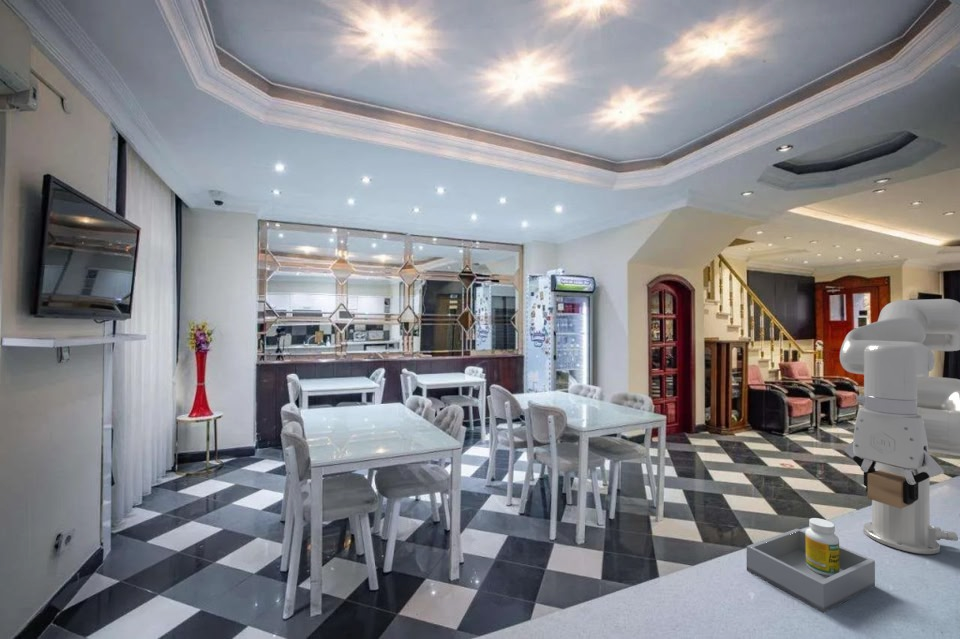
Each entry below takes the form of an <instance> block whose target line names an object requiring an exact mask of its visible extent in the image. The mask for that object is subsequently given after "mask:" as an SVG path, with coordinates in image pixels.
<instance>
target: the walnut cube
mask: <svg viewBox="0 0 960 639" xmlns="http://www.w3.org/2000/svg"><path fill="white" fill-rule="evenodd" d="M905 482H906V478H905V476H902V475H898V474H894V473H891V472H887V471H883V470H878V471H875V472H872V473H869V474H868V492H867V499H868V500H871V501H872V500H874V501H877V502H881V503H884V504H887V505H890V506H893V507H896V508H900V509H901V508H904V507H906V506H909V505H911V504H913V503H911V504H905V503H904V502H903V484H904V483H905Z"/></svg>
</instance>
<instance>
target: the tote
mask: <svg viewBox="0 0 960 639" xmlns="http://www.w3.org/2000/svg"><path fill="white" fill-rule="evenodd" d="M795 532H796V533H795ZM805 532H806V530H802V529H799V528H795V529H791V530H789V531H786V532H783V533H781V534H780V533H779V534H777V535H774V536H772V537H771V536H770V537H769V538H765V539H763V540H760V541H757V542H755V543H751V544H749V545H746V571H747V572H749V573H751V574H753V575H754V576H755V577H758V578H760V579H761V580H763V581H766V582H767V583H769V584H771V585H772V586H774V587H776V588H778V589H780V590H781V591H783V592H785V593H787V594H788V595H790V596H793V597H794V598H796V599H798V600H799V601H801V602H803V603H805V604H806V605H809V606H810V607H812V608H814V609H815V610H818V611H819V612H821V613H823V614H824V613H826V612H827V611H829V610H832V609H834V608H836V607H837V606H839V605H841V604H843V603H845V602H847V601H849V600H851V599H853V598H855V597H857V596H859V595H861V594H862V593H864V592H867V591H868V590H871V589H872V588H874V587H876V561H875V560H874V559H872V558H869V557H867V556H864V555H862V554H860V553H858V552H855V551H853V550H851V549H848V548H846V547H844V546H841V545H839V568H840V572H839V573H837V574H834V575H832V576H825V575H822V574H819V573H816V572H814V571H812V570H811V569H810V568H809V567H808V566H807V564H806V539H805ZM792 533H793V534H792ZM790 534H791V535H790ZM766 542H767V543H766ZM751 547H752V548H751Z"/></svg>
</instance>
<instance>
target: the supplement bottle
mask: <svg viewBox="0 0 960 639" xmlns="http://www.w3.org/2000/svg"><path fill="white" fill-rule="evenodd" d="M808 522H809V523H808V527H809V528H807V529H805V539H806V564H807V566H808V567H809V568H810V569H811V570H812V571H814V572H816V573H819V574H822V575H825V576H832V575H834V574H837V573H839V572H840V568H839V546H840V539H839V537H838V535H836V534H835V532H836V528H835V527H836V526H835V524H834V523H833V522H831V521H830V520H827V519H824V518H818V517H811V518H809V521H808Z"/></svg>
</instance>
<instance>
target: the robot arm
mask: <svg viewBox="0 0 960 639" xmlns="http://www.w3.org/2000/svg"><path fill="white" fill-rule="evenodd" d="M933 351H936V352H954V351H955V352H957V351H960V302H959V301H958V300H955V299H951V298H934V299H933V298H931V299H903V300H902V299H901V300H896V301H892V302H889V303H887V304H886V305H885V306H884V307H882V309H881V310H880V312H879V316H878V319H877V321H874V322H871V323H869V324H865V325H863V326H859V327H856V328H853V329H852V330H850V331H849V332H848V333H847V334H846V336H845V337H844V340H843V342H842V345H841V347H840V350H839V361H840V362H839V363H840V365H841V367H842V369H844V370H845V371H846V372H847V373H850V374H851V373H852V374H854V375H855V374H856V375H863V376H864V377H863V380H864V381H863V387H864V388H863V390H864V391H863V394H862V395H857V396H856V397H855V401H856V402H857V403H861V404H862V407H863V408H859V409H858V411H857V415H856V419H855V424H854V430H853V437H852V438H853V439H852V441H851V443H849V444H848V445H847V446H846V447H844V448H843V452H845V453H846V454H847V455H848V456H849V457H851V458H852V460H853V461H854V462H855V463H856V464H857V466H859V468H860V471H862V472H863V486H865V492H866V493H868V474H869V473H872V472H875V471H878V470H883V471H887V472H891V473H894V474H898V475H902V476H905V478H906V482H905V483H904V484H903V502H904V503H905V504H911V503H913V504H911V505H909V506H906V507H904V508H901V509H900V508H896V507H893V506H890V505H887V504H884V503H881V502H877V501H874V500H871V522H867V523H865V524H863V533H864V534H865V535H866V536H868V537H869V538H871V539H872V540H874V541H876V542H878V543H880V544H882V545H885V546H888V547H890V548H894V549H896V550H900V551H904V552H908V553H914V554H918V555H936V554H938V553H940V551H941V546H940V543H939V542H938V541H941V540H945V541H953V542H957V541H959V536H958V534H957V532H955V531H951V530H950V531H949V530H942V529H941V527H939V526H934V525H933V526H932V525H931V524H930V523H931V522H930V521H931V518H930V516H931V515H930V513H931V512H930V505H931V504H930V503H931V502H930V501H931V499H930V493H931V492H930V490H931V489H930V488H931V487H930V484H931V483H930V481H931V480H930V479H931V478H934V477H937V476H940V475H942V474H944V473H945V471H944V468H942V467H941V466H940V465H939V463H937V461H936V460H935V459H934V458H933V457H932V456H931V455H930V454H929V452H930V453H931V452H932V453H939V454H945V455H951V456H958V457H960V379H958V378H953V377H952V378H951V377H943V376H942V377H939V376H930V372H932V371H933V369H934V367H935V354H934V352H933Z"/></svg>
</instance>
